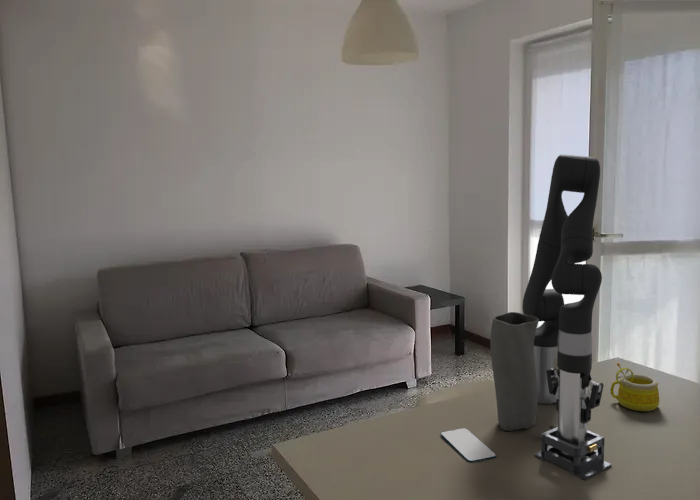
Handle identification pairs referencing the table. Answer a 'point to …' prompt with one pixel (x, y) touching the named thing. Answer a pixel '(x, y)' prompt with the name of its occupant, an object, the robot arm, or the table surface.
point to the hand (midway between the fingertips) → (573, 417)
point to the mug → (636, 391)
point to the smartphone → (467, 445)
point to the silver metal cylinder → (571, 412)
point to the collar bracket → (575, 454)
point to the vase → (514, 369)
